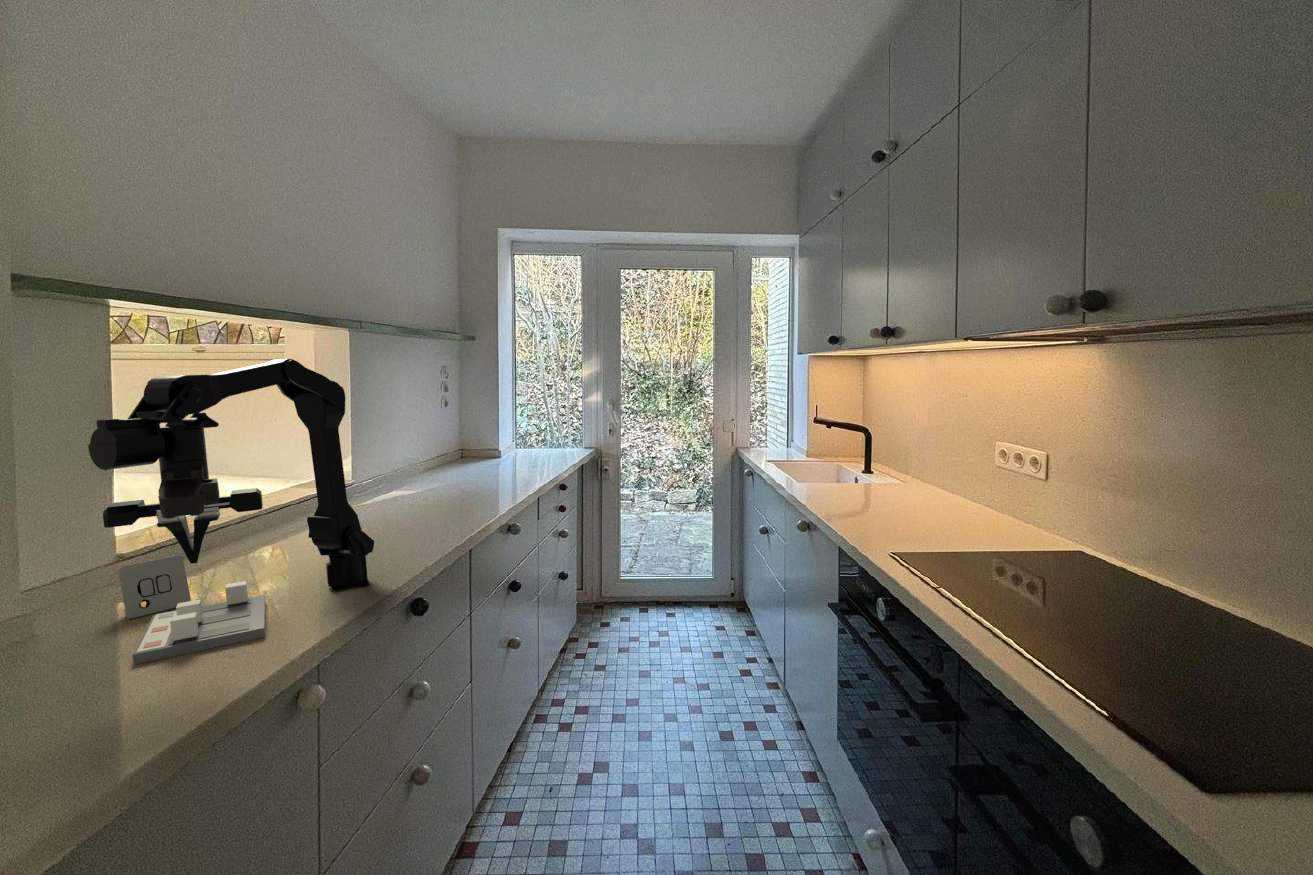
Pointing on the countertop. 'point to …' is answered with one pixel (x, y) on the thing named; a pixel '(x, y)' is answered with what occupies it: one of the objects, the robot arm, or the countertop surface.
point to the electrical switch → (153, 586)
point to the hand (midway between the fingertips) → (194, 562)
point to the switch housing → (204, 630)
